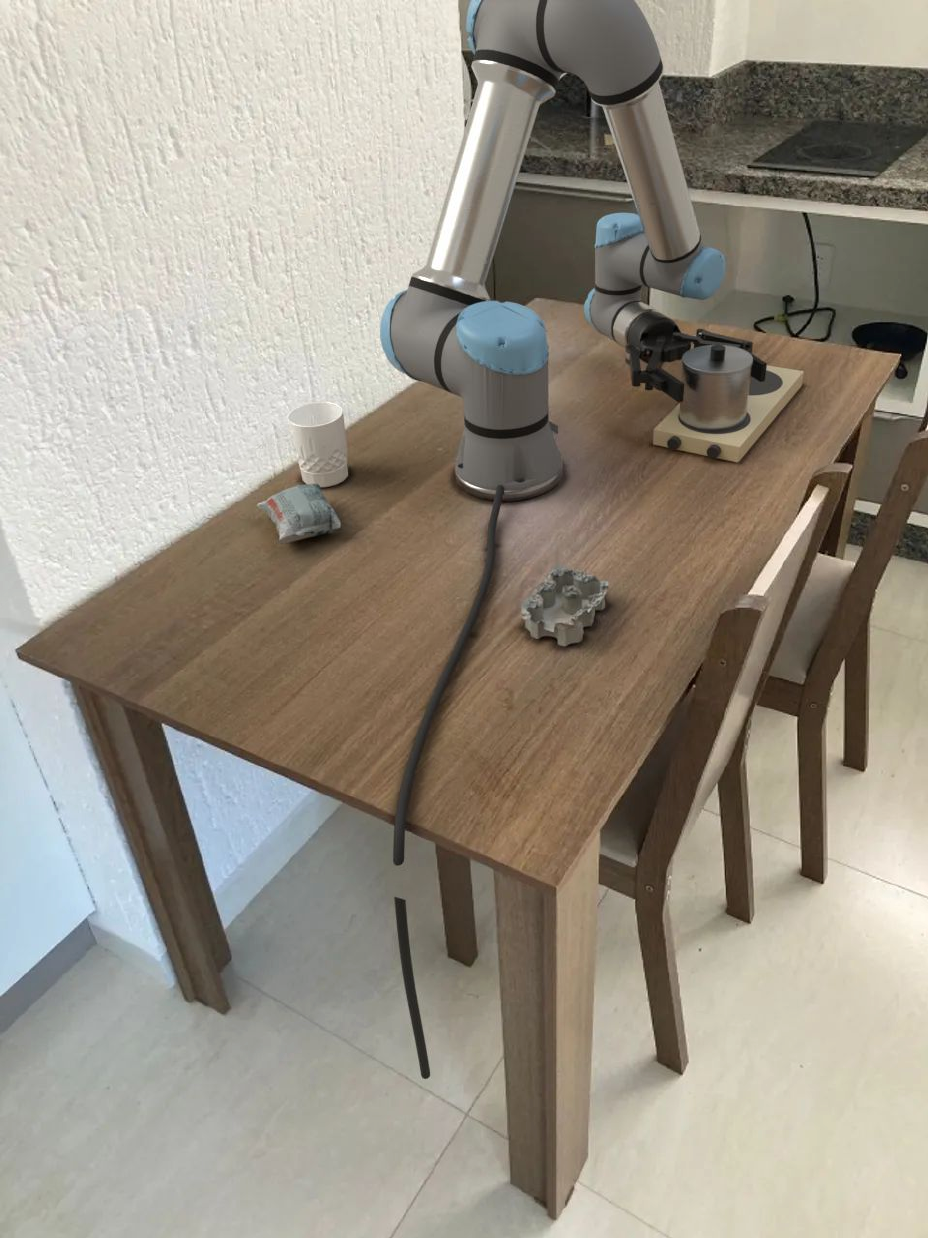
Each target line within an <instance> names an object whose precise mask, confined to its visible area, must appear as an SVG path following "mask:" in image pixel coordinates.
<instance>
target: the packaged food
mask: <svg viewBox="0 0 928 1238" xmlns="http://www.w3.org/2000/svg"><path fill="white" fill-rule="evenodd" d="M256 507H257V508H258V509H260V510H261V511H262V512H264V513H265V514H266V515H267V516H268V517H269V518H270V519H271V521H272V523H274V525H275V527H276V531H277V533H278V536H279V539H278V543H279V544H280V545H282V544H284V543H286V544H287V543H288V544H289V543H293V542H297V541H300V540H305V539H309V538H313V537H316V536H321V535H325V534H329V533H330V534H331V533H332V532H335V531H337V530H338V529H340V528H341V527H342V523H341V519H340V518H339V517H338V514H337V513H336V511H335V509H334V508H333V506H332V505H331V504H330V502H329V501H328V499H327V497H326V496H325V495H324V493H323V492H322V487H320V486H319V484H306V483H304V484H297V485H295V486H292V487H288V488H286V489H283V490H281V491H279V492H278V493H275V494H272V495H271V496H270V497H268V498H267V499H266V500H263V501H262V502H258V503H257V504H256Z"/></svg>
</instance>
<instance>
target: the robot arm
mask: <svg viewBox="0 0 928 1238" xmlns="http://www.w3.org/2000/svg"><path fill="white" fill-rule="evenodd" d="M465 23H466V24H465V25H466V33H468V34H469V37H468V38H467V41H468V45H469V48H470V50H471V52H472V53H473V59H472V61H471V66H470V67H471V69H472V71H473V74H474V77H475V79H476V81H477V87H476V90H475V92H474V93H475V94H474V97H473V101H472V103H471V107H470V111H469V114H468V118H467V121H466V124H465V125H466V126H465V128H464V132H463V135H462V139H461V142H460V146H459V148H458V153H457V156H456V160H455V163H454V166H453V170H452V174H451V177H450V179H449V183H448V186H447V190H446V193H445V197H444V201H443V204H442V208H441V211H440V215H439V217H438V222H437V225H436V229H435V231H434V236H433V240H432V243H431V246H430V248H429V249H430V250H429V253H428V256H427V260H426V262H425V263H426V264H425V265H424V266H423V267H422V268H420V269H419V270H416V271H415V272H413V273H412V274H411V277H410V279H409V283H408V286H407V289H404V290H402V291H400V292H398V293H396V294H395V295H394V296H395V297H394V298H391V299H389V301H388V302H387V305H386V306H385V307H384V310H383V312H382V316H381V319H380V324H379V325H380V326H379V339H380V344H381V348H382V350H383V352H384V354H385V357H386V359H387V361H388V363H390V364H391V366H392V367H393V368H394V369H396V370H397V371H399V372H400V373H402V374H404V375H406V376H407V377H408V378H410V379H412V380H414V381H417V382H421V383H425V384H428V385H430V386H432V387H435V388H437V389H441V390H443V391H446V392H448V393H450V394H453V395H456V396H458V397H460V398H461V399H462V409H463V410H462V411H463V423H464V429H463V432H462V436H461V440H460V443H459V447H458V451H457V454H456V458H455V464H454V473H455V474H454V475H455V481H456V483H457V485H458V487H459V488H460V489H461V490H463V491H464V492H465V493H467V494H469V495H471V496H474V497H476V498H479V499H483V500H488V501H493V504H492V507H491V512H490V516H489V521H488V528H487V535H486V536H487V537H486V560H485V565H484V570H483V573H482V576H481V581H480V584H479V586H478V590H477V593H476V596H475V598H474V601H473V603H472V606H471V609H470V611H469V614H468V616H467V617H466V620H465V623H464V625H463V627H462V629H461V632H460V634H459V636H458V638H457V641H456V643H455V645H454V647H453V650H452V651H451V653H450V655H449V658H448V660H447V662H446V664H445V666H444V668H443V671H442V672H441V674H440V676H439V679H438V681H437V684H436V686H435V688H434V689H433V693H432V695H431V697H430V699H429V701H428V704H427V707H426V710H425V712H424V714H423V716H422V720H421V722H420V724H419V726H418V729H417V732H416V735H415V738H414V740H413V744H412V747H411V750H410V753H409V756H408V759H407V762H406V766H405V769H404V773H403V776H402V782H401V784H400V788H399V793H398V799H397V804H396V810H395V815H394V823H393V824H394V825H393V844H392V845H393V847H392V850H393V851H392V862H393V864H394V866H398V867H399V866H401V865H403V863H404V862H405V848H406V847H405V846H406V845H405V843H406V841H405V840H406V839H405V838H406V821H407V814H408V808H409V802H410V796H411V791H412V786H413V782H414V779H415V774H416V771H417V768H418V764H419V760H420V758H421V754H422V751H423V748H424V745H425V742H426V739H427V737H428V733H429V730H430V728H431V725H432V723H433V719H434V717H435V714H436V712H437V709H438V707H439V704H440V702H441V700H442V697H443V695H444V692H445V690H446V688H447V685H448V683H449V681H450V679H451V677H452V674H453V672H454V671H455V668H456V666H457V663H458V661H459V659H460V657H461V655H462V652H463V651H464V648H465V647H466V644H467V641H468V639H469V638H470V635H471V633H472V630H473V628H474V626H475V623H476V621H477V618H478V616H479V614H480V611H481V609H482V606H483V603H484V600H485V598H486V594H487V592H488V588H489V585H490V583H491V579H492V574H493V572H494V571H493V570H494V565H495V559H496V558H495V556H496V532H497V531H496V530H497V524H498V520H499V515H500V510H501V506H502V502H511V501H512V502H513V501H521V500H526V499H531V498H535V497H539V496H540V495H543V494H544V493H547V492H549V491H550V490H552V489H553V488H555V487H556V486H557V485H558V484H559V482H560V481H561V480H562V478H563V473H564V471H563V470H564V469H563V466H564V465H563V457H562V454H561V452H560V450H559V448H558V444H557V442H556V438H555V436H554V433H555V434H556V435H559V425H557V424H555V423H554V422H552V421H550V417H549V354H550V352H549V347H550V346H549V343H548V338H547V329H546V325H545V322H544V320H543V319H542V318H541V316H540V315H539V314H538V313H537V312H536V311H534V310H533V309H531V308H529V307H528V306H525V305H523V304H519V303H518V302H517V303H516V302H513V301H505V302H500V301H499V300H492V299H491V297H490V295H489V293H488V291H487V288H486V283H487V279H488V275H489V272H490V269H491V265H492V262H493V259H494V255H495V253H496V249H497V246H498V243H499V240H500V236H501V233H502V229H503V227H504V222H505V220H506V216H507V213H508V209H509V206H510V203H511V199H512V197H513V193H514V191H515V190H514V189H515V187H516V184H517V180H518V177H519V175H520V174H519V173H520V172H521V167H522V164H523V161H524V158H525V154H526V151H527V148H528V145H529V144H528V143H529V141H530V138H531V135H532V131H533V129H534V124H535V121H536V118H537V115H538V111H539V108H540V106H542V104H543V103H545V102H547V101H548V100H551V99H552V98H554V97H555V95H556V92H557V89H558V85H559V82H560V79H561V77H562V74H573V75H575V76H577V77H578V78H579V79H580V80H581V81H583V82H584V84H585V85H586V88H587V91H588V94H589V96H590V99H591V101H592V102H593V103H594V104H595V105H597V106H599V107H602V110H603V113H604V116H605V119H606V122H607V125H608V128H609V131H610V133H611V137H612V140H613V143H614V146H615V148H616V151H617V155H618V157H619V161H620V163H621V167H622V169H623V173H624V176H625V179H626V182H627V185H628V188H629V191H630V194H631V197H632V200H633V203H634V206H635V209H636V211H637V213H633V212H614V213H610V214H606V215H604V216H602V217H601V218H600V219H599V220H598V221H597V223H596V230H595V231H596V232H595V244H594V284H595V285H594V288H592V289H591V290H590V291H589V293H588V294H587V297H586V298H585V302H584V305H583V312H584V316H585V318H586V320H587V322H588V323H589V324H590V325H591V326H592V327H593V328H594V329H595V330H596V331H597V332H598V333H599V334H601V335H603V336H605V337H607V338H608V339H611V340H612V341H614V342H615V343H616V344H617V345H619V346H621V347H622V348H624V349H625V353H624V354H625V355H624V356H625V357H624V362H625V363H626V364H627V365H628V366H629V371H630V379H631V380H630V381H631V386H632V387H635V388H638V387H641V384H644V390H645V391H647V392H648V391H653V390H654V389H655V390H656V391H660V392H663V393H664V394H666V395H667V396H668V397H670V398H671V399H673V400H674V401H675V402H677V403H679V404H680V402H683V397H684V383H683V382H681V380H680V379H678V378H677V377H675V376H674V375H672V374H671V373H670V372H668V371H667V370H665V369H664V368H662V367H663V366H664V364H665V363H673V362H675V361H682V357H683V355H684V353H686V352H687V351H689V350H691V349H692V345H693V348H696V347H700V346H706V345H726V346H733V347H737V348H740V349H743V350H745V351H747V352H749V353H750V354H751V355H752V357H753V364H752V366H751V377H753V378H755V379H756V380H758V381H760V382H763V381H765V376H766V367H767V365H768V363H767V362H766V361H765V360H762V359H760V358H759V357H758V356H757V355H755V354H753V346H754V342H753V341H751V340H746V339H741V338H738V337H734V336H729V335H724V334H720V333H716V332H711V331H709V330H707V329H705V328H697V329H696V331H695V332H696V333H695V334H693V335H690V334H688V333H684V332H682V331H681V329H680V327H679V326H678V324H677V322H675V320H673V319H672V318H670V317H669V316H667V315H665V314H663V313H662V312H660V311H659V310H658V309H656V308H655V307H652V306H650V305H649V304H647V303H646V302H644V301H642V287H646V288H649V289H654V290H657V291H661V292H664V293H667V294H671V295H675V296H678V297H681V298H687V299H694V300H699V301H704V300H707V299H710V298H711V297H713V296H714V295H715V293H716V292H717V291H718V290H719V288H720V287H721V285H722V283H723V281H724V277H725V273H726V261H725V257H724V254H723V253H721V251H720V250H718V249H716V248H713V247H712V246H708V245H707V246H705V244H704V242H703V238H702V235H701V232H700V228H699V224H698V221H697V217H696V213H695V209H694V206H693V203H692V199H691V195H690V192H689V189H688V184H687V180H686V176H685V173H684V170H683V169H684V168H683V166H682V161H681V158H680V155H679V151H678V147H677V143H676V140H675V137H674V133H673V129H672V125H671V121H670V119H669V115H668V111H667V108H666V103H665V100H664V96H663V93H662V89H661V86H660V80H661V79H662V77H663V75H664V65H663V61H662V57H661V52H660V50H659V47H658V43H657V41H656V37H655V35H654V33H653V30H652V28H651V26H650V24H649V22H648V20H647V18H646V16H645V15H644V12H643V11H642V9H641V8H640V6H639V4H638V3H637V2H636V1H635V0H470V2H469V6H468V8H467V14H466V22H465ZM641 362H643V363H645V364H647V365H646V367H645V370H642V367H641ZM393 900H394V907H395V908H394V909H395V910H394V911H395V921H396V931H397V940H398V942H397V943H398V948H399V949H398V950H399V956H400V964H401V971H402V972H401V973H402V978H403V984H404V990H405V991H404V992H405V996H406V1002H407V1006H408V1012H409V1017H410V1022H411V1027H412V1032H413V1037H414V1043H415V1049H416V1053H417V1054H416V1055H417V1058H418V1065H419V1072H420V1076H421V1078H422V1079H424V1080H428V1079H429V1078H430V1077H431V1068H430V1062H429V1055H428V1051H427V1050H428V1049H427V1044H426V1038H425V1033H424V1027H423V1021H422V1017H421V1012H420V1005H419V1000H418V995H417V989H416V981H415V976H414V970H413V961H412V954H411V953H412V952H411V944H410V935H409V926H408V913H407V901H406V899H405V898H400V897H397V896H394V899H393Z"/></svg>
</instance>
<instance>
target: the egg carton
mask: <svg viewBox="0 0 928 1238" xmlns="http://www.w3.org/2000/svg"><path fill="white" fill-rule="evenodd" d="M609 585H610V580H608V579H604V580H600V579H599V578H598V577H597V576H596V575H595V574H588V573H587V572H586V571H580V570H578V569H576V568H573V569H571V568H568V567H567V566H566V565H563V564H562V563H559V562H557V563H556V565H555V566H554V567H553V568H552V570H551V571H550V572H549V574H548V576H545V578H544V580H543V581H539V583H538V585H537V587H536V588H535V589H533V591H532V592H531V594H530V595H528V596H527V597H526V598H525V599H523V601H522V602H521V604H520V617H521V619H522V620H525V621H524V622H525V623H524V624H525V625H524V626H525V629H527V630H528V631H529V632H530V633H529V634H530V636H531V638H534V639H536V640H539V639H540V638H542V637H552V638H556V640H557V645H558V646H562V647H567V646H569V645H570V644H578V643H580V642H582V640H583V635H584V633H585V631H584V627H592V625H593V623H594V618H595V616H596V611H603V610H604V609H605V608H606V601H605V598H606V597H605V596H606V594H607V592H609V591H610V590H609V589H610V588H609Z"/></svg>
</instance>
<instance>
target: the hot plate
mask: <svg viewBox="0 0 928 1238" xmlns="http://www.w3.org/2000/svg"><path fill="white" fill-rule="evenodd" d="M804 372H805V371H804V370H799V369H792V368H785V367H779V366H775V365H774V366H773V365H769V364H767V367H766V376H765V381H763V382H760V381H758V380H756V379H755V378H753V377H751V376H750V385H749V394H748V404H747V413H746V419H745V421H744V422H743V424H741V425H740V426H738V427H736V428H733V429H729V430H723V431H705V430H699V429H695V428H692V427H690V426H687V425H686V424H684V423H683V422H682V421H681V420H680V417H679V411H680V403H679V404H677V405H676V406H675V407H674V408H673V409H672V411H670V412H669V413H668V414H667V415H666V416H665V417H664V418H663V419H662V420H661V421H660V422H659V423H658V424H657V425H656V426H655V427H654V428H653V432H652V433H653V437H652V445H654V446H659V447H663V448H668V449H669V450H671V451H683V452H686V453H692V454H695V455H696V454H697V455H700V456H705V457H708V458H709V459H718V460H725V461H729V462H734V463H737V464H738V463H740V461H741V460H742V459H743V457H744V456H745V455H746V454H747V453H748V451H749V450H750V449H751V448H752V447H753V445H754V444H755V443H756V442H757V440H758V439H759V438H760V437H761V436H762V435H763V433H764V432H765V431H766V430H767V429H768V427H769V426H770V425H771V424H772V423H773V422H774V420H775V419H776V418H777V416H778V415H779V414H780V413H781V412H782V410H783V409H784V408H785V407H786V406H787V405H788V403H789V402H790V401H791V399H793V398H794V397H795V395H796V393H797V392H798V391H799V390H800V389H801V387H802V386H803V381H804Z"/></svg>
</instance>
